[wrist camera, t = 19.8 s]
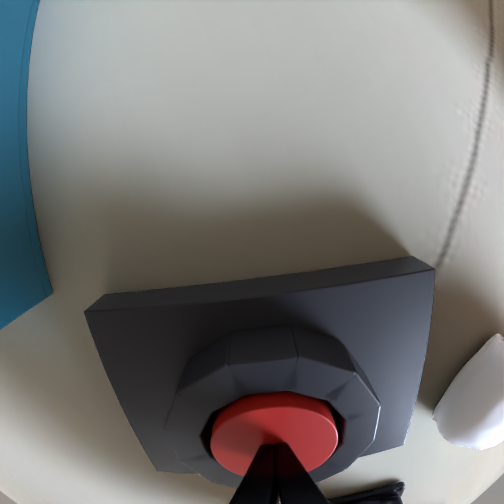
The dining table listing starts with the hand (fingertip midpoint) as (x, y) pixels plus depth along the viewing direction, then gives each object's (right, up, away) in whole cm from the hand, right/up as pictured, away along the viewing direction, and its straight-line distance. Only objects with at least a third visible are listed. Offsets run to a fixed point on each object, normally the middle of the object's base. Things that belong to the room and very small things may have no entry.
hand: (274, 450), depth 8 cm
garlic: (+12, -1, +4) cm, 13 cm away
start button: (0, 0, +2) cm, 2 cm away
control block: (0, +1, +4) cm, 4 cm away
